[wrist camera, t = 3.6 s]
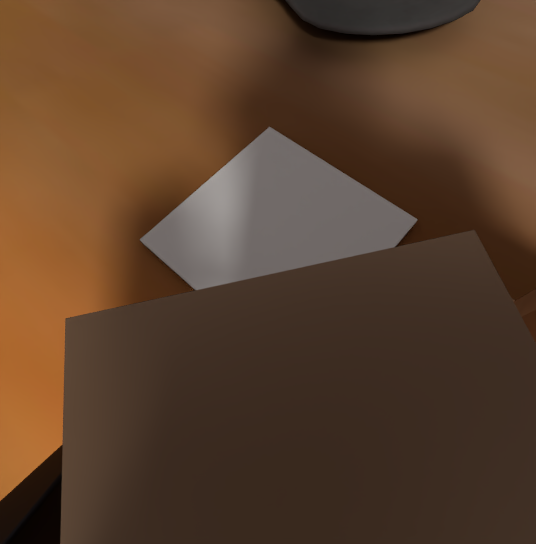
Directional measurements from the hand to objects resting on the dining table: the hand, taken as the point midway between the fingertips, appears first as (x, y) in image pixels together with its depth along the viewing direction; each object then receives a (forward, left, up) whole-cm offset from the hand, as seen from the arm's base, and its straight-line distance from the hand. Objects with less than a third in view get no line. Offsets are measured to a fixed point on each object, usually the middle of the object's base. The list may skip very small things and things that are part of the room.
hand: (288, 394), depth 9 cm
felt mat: (+6, +6, -7) cm, 11 cm away
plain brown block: (-1, -1, -7) cm, 7 cm away
